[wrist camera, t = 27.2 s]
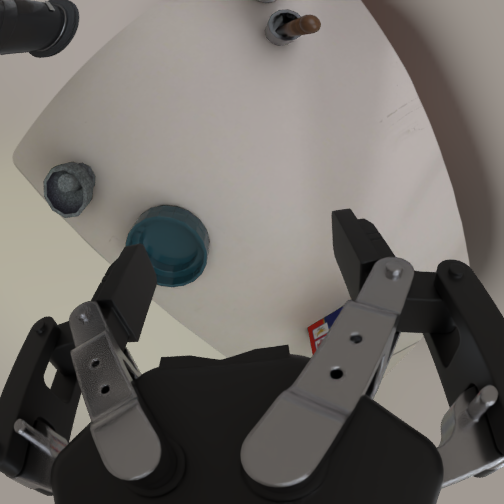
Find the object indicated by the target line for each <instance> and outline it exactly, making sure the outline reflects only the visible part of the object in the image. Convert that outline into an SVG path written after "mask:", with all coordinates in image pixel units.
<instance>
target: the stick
mask: <svg viewBox="0 0 504 504" xmlns="http://www.w3.org/2000/svg"><path fill="white" fill-rule="evenodd" d="M320 27H321V23H320V20H319V19H318V18H317V17H315V16H313V15H305V16H303V17H300V18H298V19H295V20H293V21H291V22H289V23H286V24H284V25H282V26H280V27H278V28H277V29H276V31H275V32H276V33H277V34H278V35H280V36H283V37H292V36H298V35H305V34H311V33H315V32H317V31H318V30H319V29H320Z"/></svg>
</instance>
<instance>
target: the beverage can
mask: <svg viewBox="0 0 504 504" xmlns="http://www.w3.org/2000/svg"><path fill="white" fill-rule="evenodd" d="M258 1H260V2H265V3H269V2H273V1H276V0H258Z"/></svg>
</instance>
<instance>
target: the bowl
mask: <svg viewBox="0 0 504 504" xmlns="http://www.w3.org/2000/svg"><path fill="white" fill-rule="evenodd" d="M209 243H210V241H209V236H208V233H207V230H206V228H205V227H204V225H203V224H202V222H201V221H200V220H199V219H198V218H197V217H196V216H194V215H193V214H192V213H191V212H189V211H187V210H185V209H182V208H180V207H177V206H168V205H162V206H157V207H153V208H150V209H149V210H147V211H146V212H144V213H142V214H141V216H140V217H139V218H138V220H137V221H136V222H135V224H134V225H133V227H132V229H131V230H130V232H129V234H128V237H127V240H126V246H130V245H135V244H142V245H143V246H144V247H145V249H146V252H147V254H148V256H149V259H150V261H151V263H152V266H153V268H154V270H155V273H156V277H157V285H160V286H167V287H178V286H184V285H186V284H189V283H191V282H193V281H195V280H196V279H197V278H198V277H199V276H200V275H201V274H202V273H203V271H204V268H205V266H206V264H207V259H208V253H209Z"/></svg>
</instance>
